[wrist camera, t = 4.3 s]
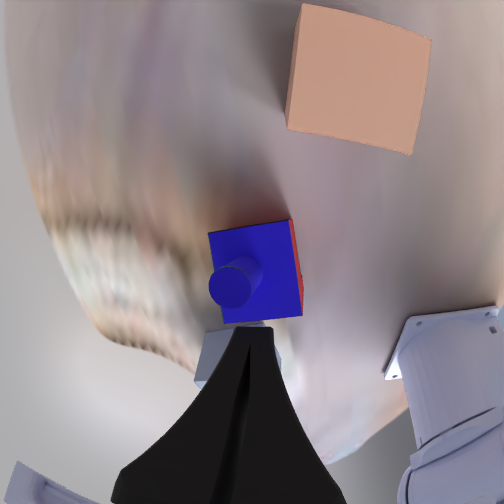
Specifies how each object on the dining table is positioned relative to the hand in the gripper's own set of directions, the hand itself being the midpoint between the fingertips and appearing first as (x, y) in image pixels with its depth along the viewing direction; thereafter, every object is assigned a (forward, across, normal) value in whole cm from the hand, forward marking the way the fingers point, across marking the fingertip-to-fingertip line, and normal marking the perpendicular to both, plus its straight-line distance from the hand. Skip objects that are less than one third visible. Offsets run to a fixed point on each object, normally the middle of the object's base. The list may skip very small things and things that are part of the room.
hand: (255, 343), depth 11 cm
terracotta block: (+7, -4, -9) cm, 12 cm away
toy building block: (+7, 0, 0) cm, 7 cm away
